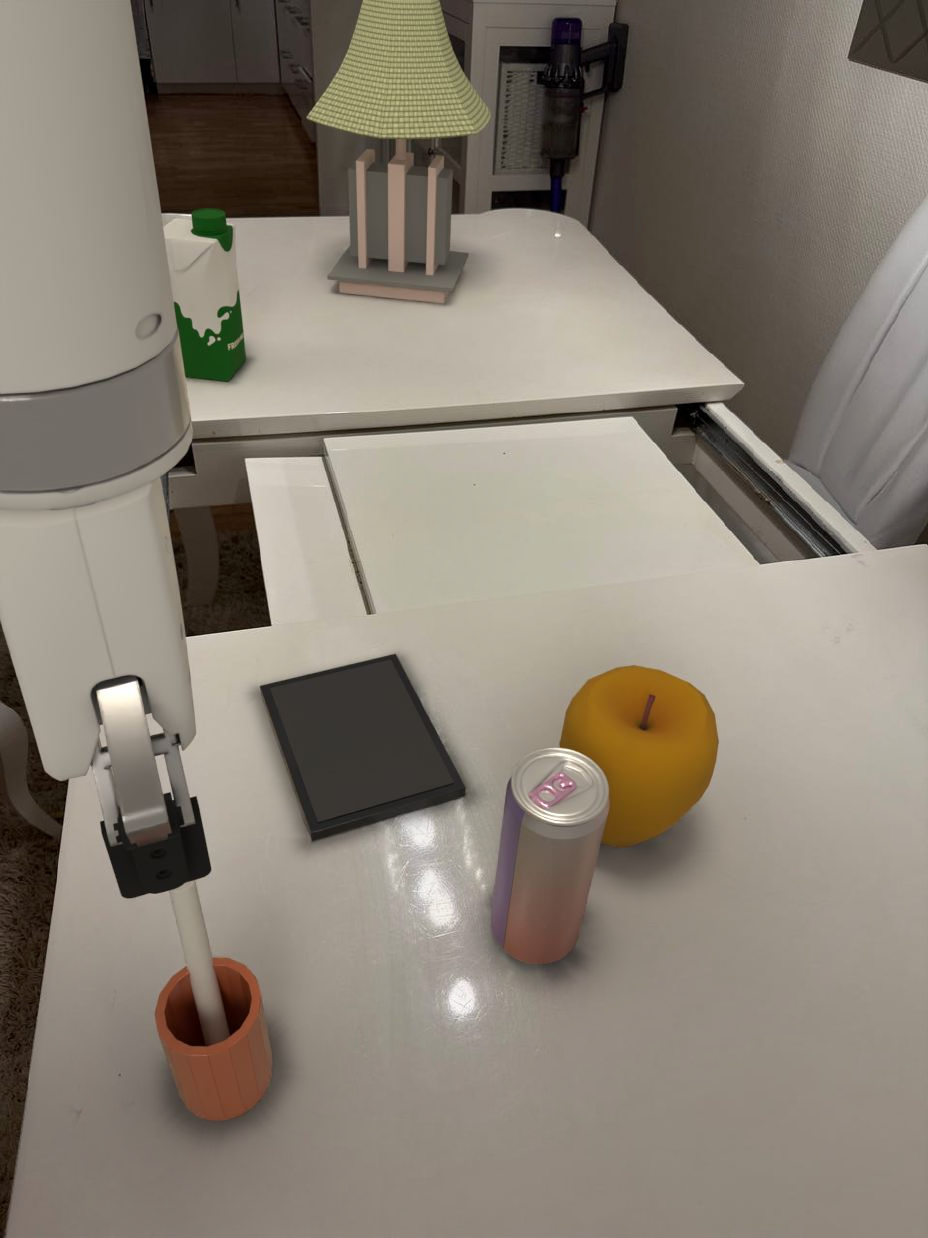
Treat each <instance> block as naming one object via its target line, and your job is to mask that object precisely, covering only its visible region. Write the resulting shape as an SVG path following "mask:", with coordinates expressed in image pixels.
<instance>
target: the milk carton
mask: <svg viewBox="0 0 928 1238" xmlns="http://www.w3.org/2000/svg"><path fill="white" fill-rule="evenodd" d="M190 216H191V219H190V218H189V219H188V218H180V217H175V218H173V219H172V220H170V222H168V223H167V224H166V225H163V230H164V237H165V244H166V252H167V259H168V266H169V273H170V280H171V287H172V294H173V301H174V309H175V316H176V323H177V326H178V330H179V337H180V344H181V351H182V358H183V365H184V371H185V378H186V377H187V378H196V379H202V380H203V379H204V380H210V381H212V380H213V381H219V382H230V381H231V379H232V378H233V377H234V375H236V373H237V372H238V370H240V368H241V367H242V365H243V364H244V363H245V362H246V360H247V355H246V344H245V334H244V333H245V332H244V323H243V314H242V313H243V312H242V305H241V295H240V285H239V276H238V275H239V274H238V266H237V244H236V243H237V241H236V239H237V237H236V224H235V222H234V223H233V222H227V217H226V212H225V211H224V210H222V209H219V208H213V207H212V208H209V207H205V208H199V209H196V210H193V211H192V212H191V213H190Z"/></svg>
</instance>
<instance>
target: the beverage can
mask: <svg viewBox="0 0 928 1238" xmlns="http://www.w3.org/2000/svg"><path fill="white" fill-rule="evenodd" d="M609 805H610V801H609V785H608V781H607V778H606V776H605V774H604V773H603V771H602V770H601V768H600V767H599V766H598V765H597V764H596V763H595V762H594V761H593V760H591V759H590V758H589V757H587V756H585V755H583V754H581V753H579V752H577V751H574V750H570V749H566V748H560V747H558V746H557V747H556V746H555V747H551V746H550V747H543V748H539V749H535V750H533V751H531V752H529V753H527V754H525V755H524V756H523V757H522V758H520V759H519V760H518V761H517V763H516V764H515V766H514V768H513V770H512V772H511V776H510V778H509V779H508V781H507V784H506V788H505V796H504V805H503V815H502V821H501V830H500V837H499V846H498V854H497V860H496V870H495V878H494V886H493V895H492V903H491V910H490V911H491V912H490V928H491V932H492V935H493V937H494V940H495V941H496V942H497V944H498V945H499V946H500V948H501V949H502V950H503V951H504V952H505V953H506V954H507V955H509V956H510V957H512V958H513V959H516V960H517V961H520V962H523V963H525V964H526V963H527V964H531V965H545V964H546V965H547V964H551V963H554V962H557V961H559V960H562V959H563V958H565V957H566V956H567V955H569V953H570V952H571V951H572V950H574V948H575V946H576V944H577V943H578V940H579V938H580V937H579V936H580V932H581V928H582V924H583V920H584V917H585V916H584V915H585V911H586V908H587V903H588V899H589V895H590V891H591V887H592V882H593V878H594V874H595V869H596V865H597V861H598V857H599V853H600V850H601V849H600V848H601V845H602V843H601V841H602V837H603V832H604V828H605V824H606V820H607V816H608V811H609Z"/></svg>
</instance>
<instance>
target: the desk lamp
mask: <svg viewBox="0 0 928 1238" xmlns="http://www.w3.org/2000/svg"><path fill="white" fill-rule="evenodd" d="M349 43H350V44H349V46H348V49H347V52H346V53H345V55H344V58H343V60H342V62H341V65H340V66H339V69H338V70H337V72H336V73H335V75H334V77H333V78H332V80H331V81H330V83H329V85H328V86H327V88H326V89H325V90H324V92H323V93H322V95H321V96H320V97H319V99H318V101H317V102H316V103H315V105H314V106H313V108H312V109H311V110H310V111H309V113H308V114H307V115H306V117H305V118H306V119H307V120H308V121H310V122H313V123H316V124H318V125H321V126H324V127H328V128H331V129H335V130H337V131H342V132H346V133H349V134H354V135H358V136H363V137H368V138H376V139H381V140H382V139H383V140H395V154H394V155H393V157H392V158H391V159H390V161H389V162H388V163H387V162H376V150H375V149H374V148H366V149H365V150H364V152H363V153H361V154H360V156H359V157H358V158H357V159H356V160H355V161H354V162H353V163H352V164H351V165H350V166H349V168H347V182H348V185H347V186H348V216H349V217H348V218H349V245H348V247H347V249H345V251H344V252H343V254H342V255H341V257H340V258H339V259H338V261H337V262H336V263H335V265H334V266H333V267H332V269H331V270H330V271H329V273H328V274H327V275H326V276H327V280H328V281H338V282H339V294H349V295H358V296H368V297H376V298H377V297H379V298H387V299H397V300H405V301H406V300H407V301H414V302H415V301H417V302H425V303H427V302H428V303H435V304H445V302H446V300H447V297H448V295H449V293H454V291H455V288H456V287H457V285H458V282H459V280H460V277H461V275H462V272H463V270H464V267H465V265H466V263H467V261H468V258H469V254H470V253H469V252H465V251H464V252H463V251H454V250H451V231H452V207H453V204H452V203H453V180H454V179H453V178H454V177H453V176H454V168H453V169H452V168H445V167H444V165H445V156H444V155H439V154H436V155H435V157H434V158H433V160H432V161H431V163H430V164H429V165H428V166H420V165H414V159H415V157H414V156H415V155H414V152H407V140H423V139H425V140H426V139H444V138H445V139H447V138H455V137H456V138H457V137H466V136H467V137H468V136H475V135H477V134H479V133H481V131H482V130H483V129H485V127H486V126H487V125H488V123H489V121H490V119H491V117H492V116H491V110H490V109H489V107H488V106H487V104H486V103H485V102H484V101H483V99H482V98H481V97H480V95H479V94H478V92H477V91H476V89H475V88H474V87H473V84H471V82H470V80H469V78H468V77H467V76H466V74H465V72H464V71H463V69H462V67H461V65H460V63H459V60H458V58H457V56H456V54H455V51H454V49H453V46H452V42H451V39H450V36H449V33H448V30H447V25H446V22H445V19H444V14H443V10H442V6H441V3H440V0H362V2H361V6H360V10H359V13H358V17H357V20H356V25H355V29H354V31H353V34H352V38H351V40H350V42H349Z"/></svg>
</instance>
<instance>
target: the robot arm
mask: <svg viewBox="0 0 928 1238" xmlns="http://www.w3.org/2000/svg"><path fill="white" fill-rule="evenodd" d="M135 29H136V28H135V22H134V17H133V9H132V3H131V0H0V625H1V628H2V633H3V635H4V638H5V641H6V645H7V649H8V652H9V655H10V658H11V662H12V665H13V668H14V671H15V675H16V678H17V680H18V681H17V682H18V685H19V688H20V691H21V695H22V697H23V701H24V704H25V708H26V711H27V715H28V717H29V721H30V725H31V727H32V731H33V734H34V738H35V742H36V746H37V749H38V753H39V756H40V760H41V763H42V767H43V770H44V772H45V773H46V774H48V775H49V776H50V777H51V778H53V779H55V780H57V781H59V782H63V781H68V780H71V779H75V778H81V777H85V776H87V774H88V772H89V769H90V767H91V769H92V775H93V778H94V784H95V787H96V792H97V796H98V801H99V804H100V809H101V814H102V817H103V818H102V819H103V820H100V821H99V826H100V832H101V836H102V839H103V842H104V845H105V848H106V851H107V855H108V859H109V862H110V864H111V867H112V871H113V874H114V878H115V881H116V883H117V886H118V890H119V893H120V895H121V897H122V898H123V899H127V900H128V899H135V898H139V897H142V896H145V895H157V894H162V893H167V892H169V891H170V890H173V889H176V888H178V887H180V886H182V885H184V884H185V883H187V882H190V881H193V880H195V881H196V880H197V881H198V880H200V879H203V878H206V877H207V876H209V875H210V874H211V872H212V865H211V859H210V854H209V849H208V844H207V840H206V833H205V829H204V824H203V819H202V814H201V808H200V804H199V800H198V796H197V795H195V796H191V797H190V793H189V787H188V783H187V779H186V774H185V770H184V765H183V761H182V756H181V752H180V748H181V751H182V752H184V751H185V750H186V749H187V748H188V747H189V746H190V745H191V743H192V742H193V741H194V740H195V737H196V735H197V725H196V715H195V714H196V713H195V705H194V694H193V686H192V677H191V669H190V661H189V659H190V658H189V651H188V644H187V636H186V628H185V627H186V626H185V620H184V614H183V606H182V600H181V592H180V585H179V578H178V573H177V572H178V571H177V567H176V560H175V554H174V549H173V548H174V547H173V542H172V536H171V529H170V525H169V518H168V512H167V506H166V500H165V494H164V488H163V484H162V483H163V482H162V476H164V475H165V474H167V472H169V471H170V470H171V469H173V468H174V467H175V466H176V465H177V464H178V463H180V461H182V459H183V458H184V457H185V456H186V454H187V453H188V452H189V449H190V446H191V443H193V437H194V431H193V429H194V427H193V421H192V413H191V407H190V406H191V405H190V399H189V393H188V386H187V385H188V384H187V379H186V377H185V371H184V365H183V358H182V351H181V344H180V337H179V330H178V326H177V323H176V316H175V309H174V301H173V294H172V287H171V280H170V273H169V266H168V259H167V252H166V244H165V237H164V230H163V227H164V224H163V217H162V209H161V201H160V194H159V188H158V180H157V174H156V166H155V161H154V152H153V147H152V139H151V133H150V125H149V119H148V112H147V104H146V99H145V91H144V83H143V79H142V71H141V65H140V57H139V51H138V43H137V36H136V30H135ZM149 714H150V715H151V717H152V719H153V720H154V721H155V722H156V723H157V724H158V725H159V726H160V727H161V728H162V731H163V732H160V733H156V734H151V733H150V728H149V724H148V719H147V715H149ZM101 726H103V731H104V736H105V740H106V746H102V741H101V738H100V735H101ZM162 755H163V758H164V761H165V766H166V771H167V776H168V780H169V785H170V788H171V789H170V790H171V791H168V792H165V793H164V791H163V786H162V782H161V779H160V774H159V769H158V764H157V760H156V757H158V756H162Z"/></svg>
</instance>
